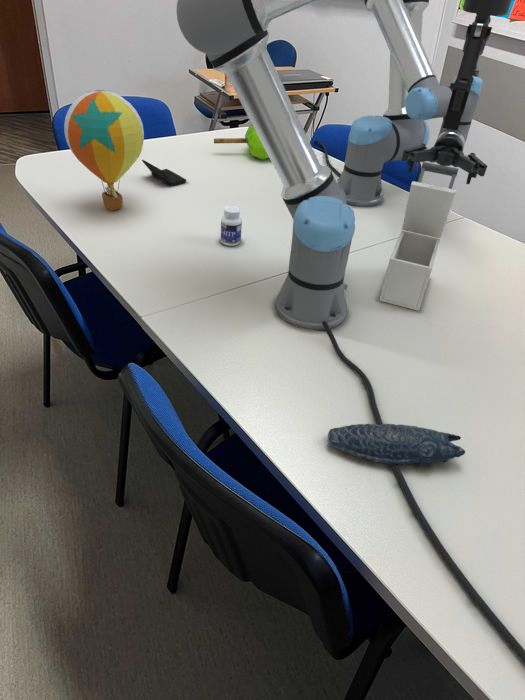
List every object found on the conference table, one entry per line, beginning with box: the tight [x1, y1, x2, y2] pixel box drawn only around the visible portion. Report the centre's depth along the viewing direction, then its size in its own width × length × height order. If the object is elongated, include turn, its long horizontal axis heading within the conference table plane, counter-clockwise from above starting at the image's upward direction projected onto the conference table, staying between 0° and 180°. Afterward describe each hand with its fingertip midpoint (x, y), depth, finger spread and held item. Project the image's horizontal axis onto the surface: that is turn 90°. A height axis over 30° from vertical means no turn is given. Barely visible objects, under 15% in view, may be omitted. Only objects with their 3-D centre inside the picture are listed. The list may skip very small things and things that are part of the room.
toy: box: [63, 89, 145, 212], centre depth 136 cm, size 20×20×30 cm
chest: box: [378, 230, 441, 311], centre depth 119 cm, size 16×9×11 cm, turn 159°
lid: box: [401, 161, 459, 239], centre depth 115 cm, size 16×9×8 cm
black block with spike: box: [141, 159, 187, 187], centre depth 162 cm, size 12×7×10 cm
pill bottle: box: [220, 205, 243, 247], centre depth 132 cm, size 5×5×9 cm
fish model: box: [327, 423, 466, 466], centre depth 81 cm, size 7×21×5 cm, turn 84°
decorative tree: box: [213, 124, 270, 161], centre depth 186 cm, size 18×10×30 cm
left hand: (453, 120), depth 100 cm, fingers open, 13 cm apart
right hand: (439, 172), depth 122 cm, fingers open, 13 cm apart
